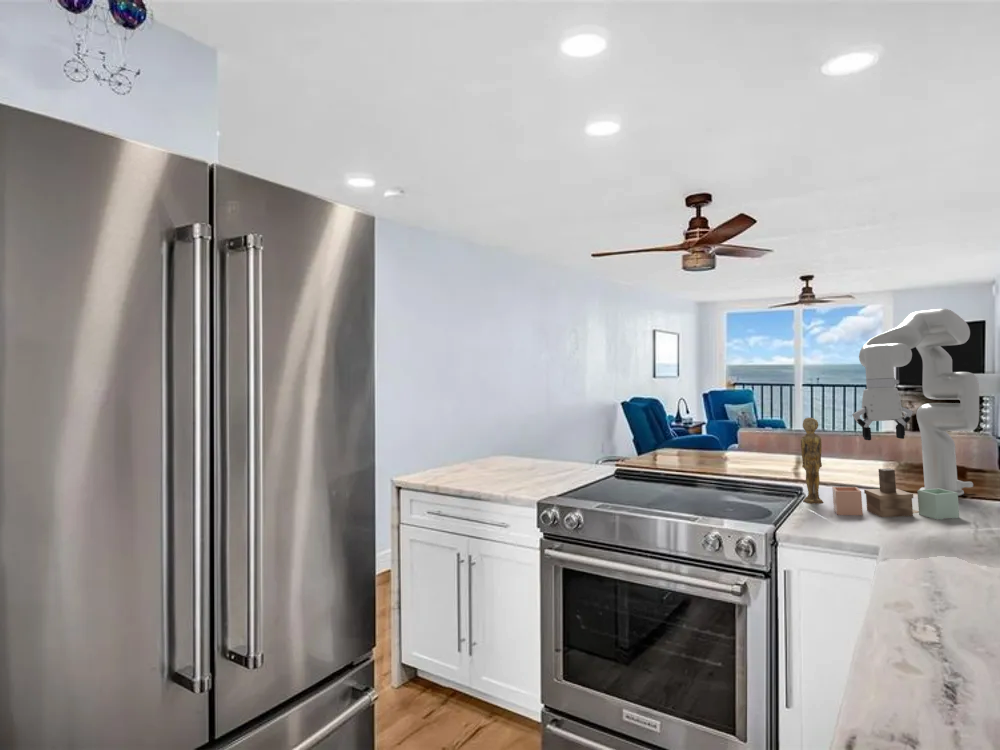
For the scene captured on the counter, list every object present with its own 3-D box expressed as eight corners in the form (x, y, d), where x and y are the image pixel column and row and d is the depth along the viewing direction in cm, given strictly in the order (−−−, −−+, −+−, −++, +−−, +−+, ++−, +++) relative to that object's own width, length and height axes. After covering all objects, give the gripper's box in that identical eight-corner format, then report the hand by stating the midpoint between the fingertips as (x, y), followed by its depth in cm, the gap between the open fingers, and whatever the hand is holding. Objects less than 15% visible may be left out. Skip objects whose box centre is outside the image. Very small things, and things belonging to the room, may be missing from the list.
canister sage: (940, 514, 187) (938, 488, 187) (959, 519, 180) (957, 492, 180) (919, 516, 186) (917, 490, 186) (937, 521, 179) (935, 494, 179)
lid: (896, 491, 194) (894, 466, 194) (913, 498, 185) (911, 471, 185) (864, 493, 195) (862, 467, 195) (880, 499, 186) (878, 472, 186)
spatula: (878, 505, 202) (878, 503, 202) (889, 504, 203) (888, 502, 203) (910, 515, 188) (910, 512, 188) (921, 514, 188) (921, 511, 188)
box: (896, 510, 194) (895, 492, 194) (913, 517, 185) (911, 498, 185) (867, 512, 195) (865, 493, 195) (881, 518, 186) (880, 499, 186)
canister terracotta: (858, 511, 196) (856, 487, 196) (862, 517, 190) (861, 491, 190) (833, 511, 199) (832, 486, 199) (837, 516, 192) (835, 491, 192)
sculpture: (820, 501, 213) (814, 416, 213) (828, 505, 207) (822, 417, 207) (800, 502, 214) (794, 417, 214) (807, 506, 208) (801, 418, 208)
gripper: (903, 382, 193) (906, 436, 193) (845, 385, 195) (849, 439, 195) (916, 382, 186) (920, 439, 185) (857, 386, 187) (860, 441, 187)
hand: (883, 439), depth 190 cm, fingers open, 9 cm apart
